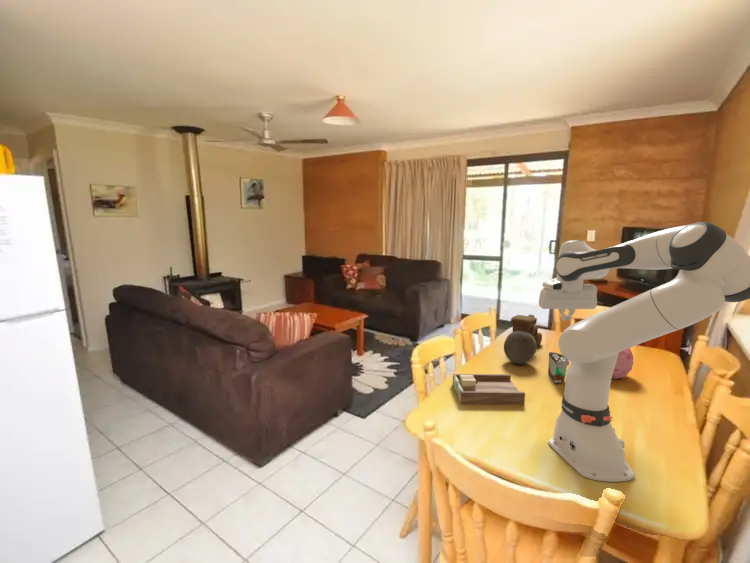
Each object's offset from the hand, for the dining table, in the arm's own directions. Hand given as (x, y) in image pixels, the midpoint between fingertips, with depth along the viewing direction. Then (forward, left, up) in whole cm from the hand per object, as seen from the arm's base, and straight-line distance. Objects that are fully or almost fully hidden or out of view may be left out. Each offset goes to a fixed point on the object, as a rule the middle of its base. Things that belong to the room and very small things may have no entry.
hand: (565, 320), depth 137 cm
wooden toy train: (+52, -7, -29) cm, 60 cm away
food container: (+11, -5, -29) cm, 32 cm away
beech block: (-2, +36, -27) cm, 45 cm away
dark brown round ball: (+29, +5, -29) cm, 42 cm away
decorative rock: (+16, -30, -29) cm, 45 cm away
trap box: (-2, +28, -29) cm, 41 cm away
